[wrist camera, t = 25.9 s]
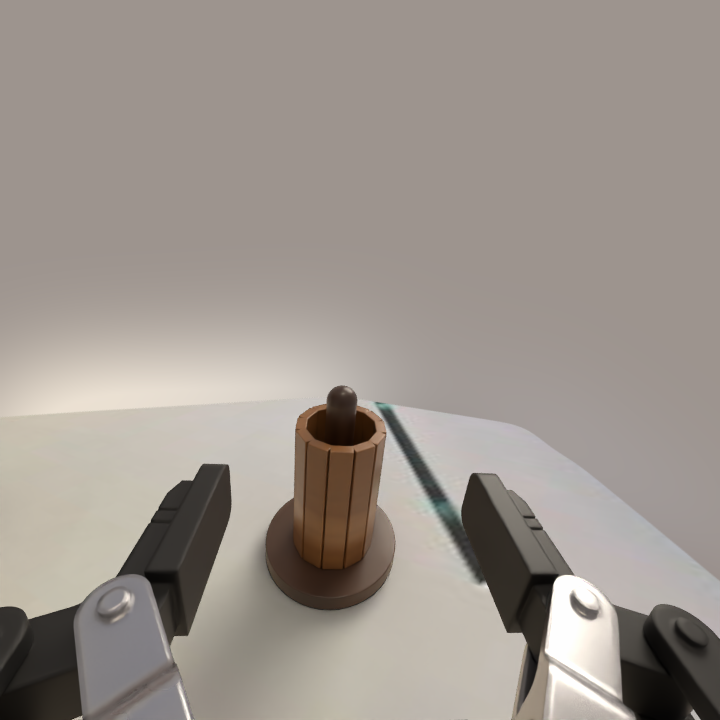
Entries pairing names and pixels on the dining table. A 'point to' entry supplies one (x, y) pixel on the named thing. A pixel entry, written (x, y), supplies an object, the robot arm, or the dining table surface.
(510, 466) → the dining table surface
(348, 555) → the wooden stave pot
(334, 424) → the peg stand
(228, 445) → the dining table surface
